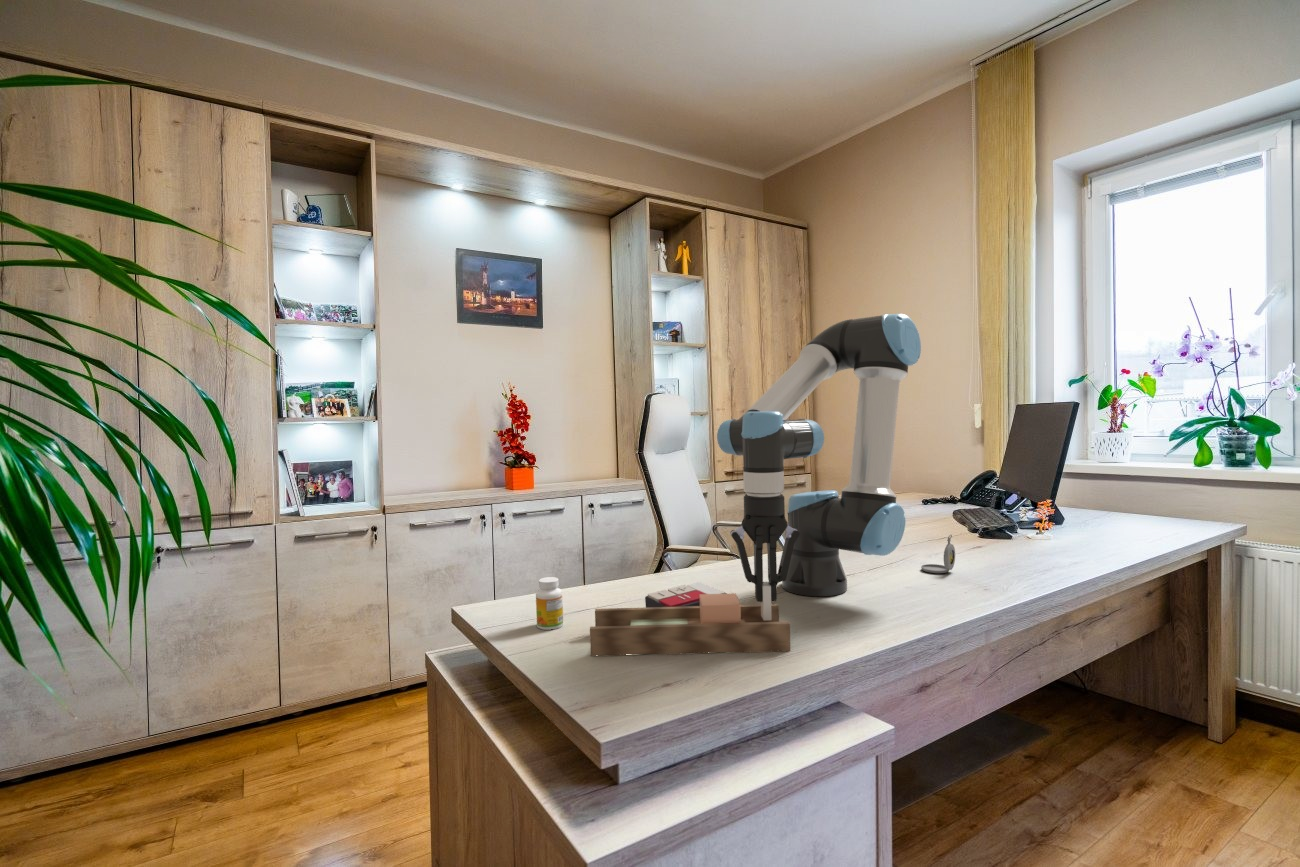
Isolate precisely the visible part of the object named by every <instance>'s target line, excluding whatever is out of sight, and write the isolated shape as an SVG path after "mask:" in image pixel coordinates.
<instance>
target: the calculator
mask: <svg viewBox="0 0 1300 867" xmlns="http://www.w3.org/2000/svg"><path fill="white" fill-rule="evenodd" d="M700 594H728V593H726V592H725V591H723V590H721V589H718V588H715V587H714V586H710V585H708V584H706V583H704V582H701V581H698V582H693V583H689V584H684V585H682V584H681V585H677V586H674V587H671V588H668V589H667V590H666V589H663V590H659V591H655V592H650V593H648V594H647V595H645V597H644V602H645V608H646V607H684V606H700Z"/></svg>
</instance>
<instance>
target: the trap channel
mask: <svg viewBox="0 0 1300 867" xmlns="http://www.w3.org/2000/svg"><path fill="white" fill-rule="evenodd" d="M740 605H741V623H710V624H701V621H700V606H684V607H646V606H645V607H621V608H620V607H619V608H618V607H617V608H616V607H614V608H613V607H612V608H595V609H594V625H595V626H590V627H589V645H590V646H589V647H590V657H602V656H601V655H620V656H627V655H626V654H658V655H687V654H686V653H697V654H709V653H708V652H735V653H766V652H767V653H768V652H769V653H771V652H791V623H790V622H789V621H787V620H786V621H780V607H779V604H778V603H771V616H772V620H763V618H762V616H761V603H760V604H759V603H758V604H740ZM680 653H682V654H680ZM596 655H598V656H596Z"/></svg>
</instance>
